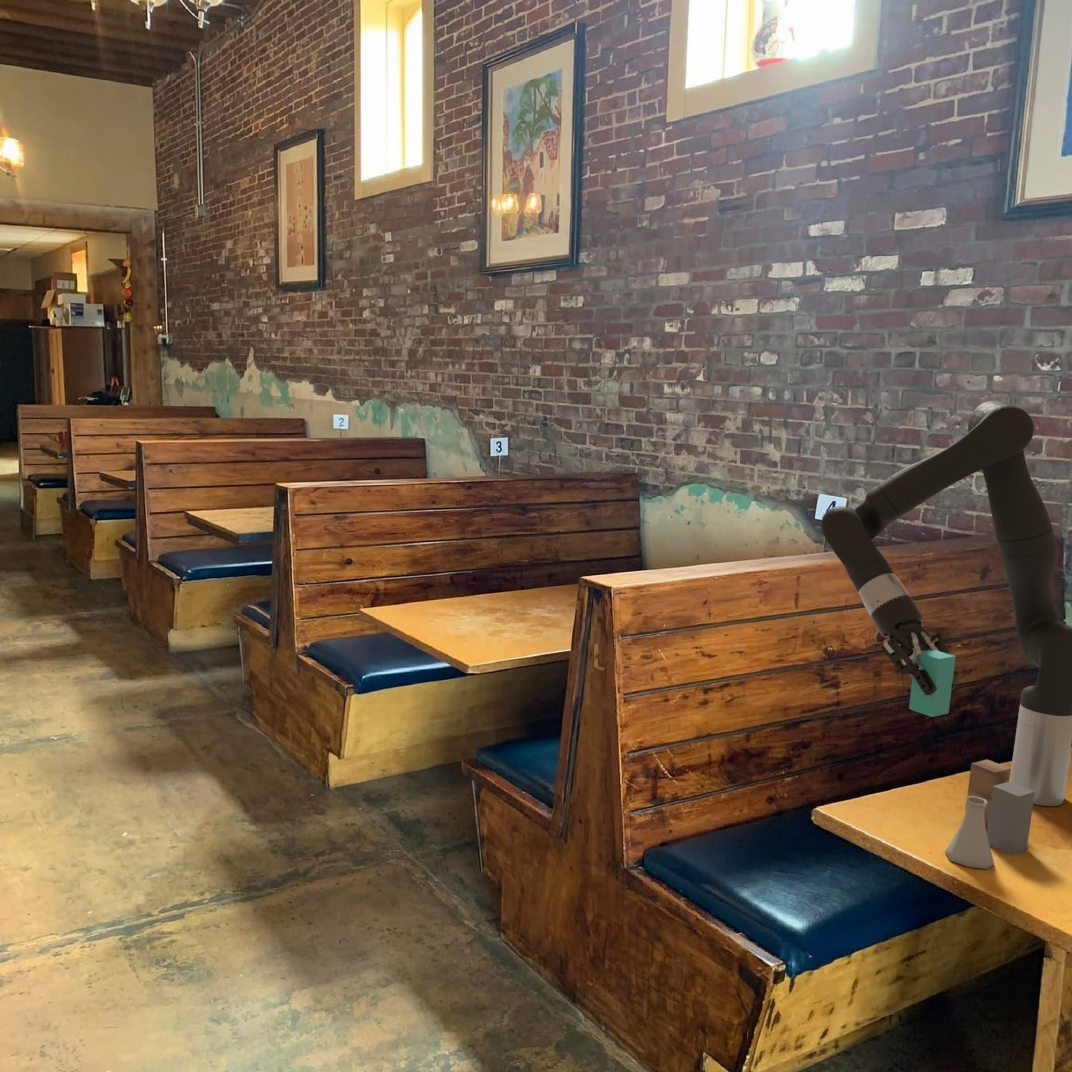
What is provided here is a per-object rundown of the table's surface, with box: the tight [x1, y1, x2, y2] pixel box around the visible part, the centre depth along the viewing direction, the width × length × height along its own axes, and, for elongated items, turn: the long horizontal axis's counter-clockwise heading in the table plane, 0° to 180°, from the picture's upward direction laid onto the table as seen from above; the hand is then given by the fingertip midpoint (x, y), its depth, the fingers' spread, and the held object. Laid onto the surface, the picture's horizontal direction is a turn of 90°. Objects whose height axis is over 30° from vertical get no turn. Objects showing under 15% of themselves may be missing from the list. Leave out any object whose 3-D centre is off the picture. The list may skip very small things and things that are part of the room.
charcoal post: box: [986, 781, 1035, 856], centre depth 163 cm, size 4×4×10 cm
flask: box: [944, 796, 995, 870], centre depth 157 cm, size 7×7×10 cm
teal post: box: [908, 650, 956, 718], centre depth 167 cm, size 4×4×10 cm
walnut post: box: [964, 759, 1011, 828], centre depth 173 cm, size 4×4×10 cm
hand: (941, 690), depth 166 cm, fingers closed on teal post, 4 cm apart
